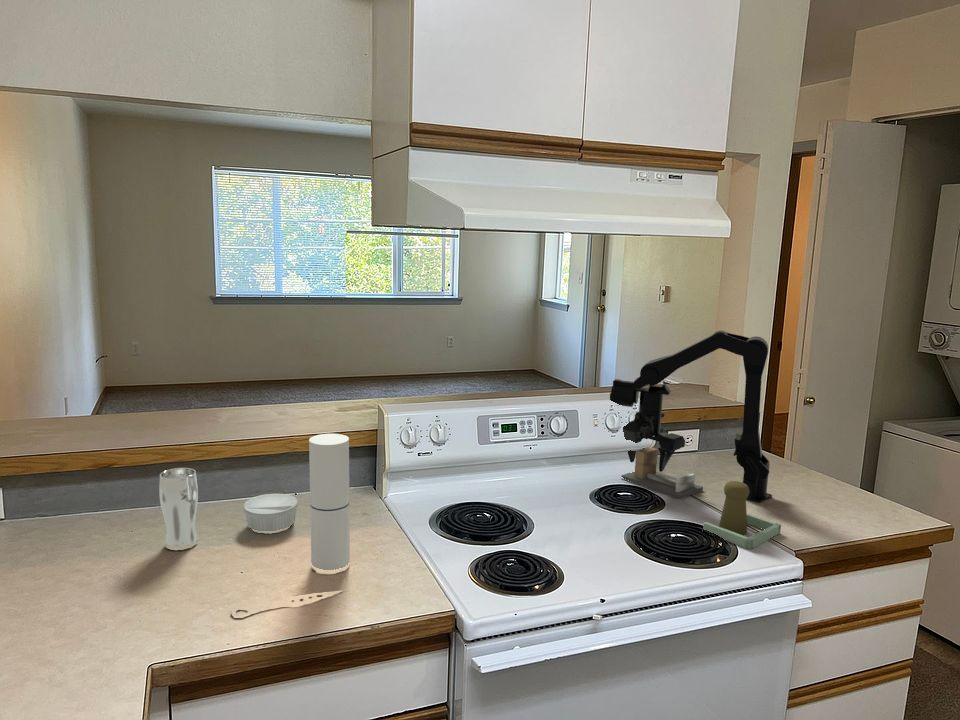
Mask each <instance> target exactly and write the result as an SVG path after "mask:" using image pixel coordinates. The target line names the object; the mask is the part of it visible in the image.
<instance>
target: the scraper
mask: <svg viewBox="0 0 960 720" xmlns="http://www.w3.org/2000/svg"><path fill="white" fill-rule="evenodd" d="M658 452H659V450H658V448H654V447H652V446H648V447H646V448H645V447H644V448H642V449H638V450H636V456H635V460H634V463H635V465H634V471H635V475H634V477H637V478H640V479H645V478H650V479H653V480H656V481H659V482H662V483H665V484H668V485H671V486H674V487H676V489H675V491H676V492H680V491H683V490H685V489H688V488H691V487H693V486H694V484H695V477H696V476H695V475H696V474H695V473H689V474H687V475H683V476H681V477H678V478H677V479H676V481H675V480H672V479H669V478H666V477H663V476H660V475H657V474H656V472H657V464H658Z"/></svg>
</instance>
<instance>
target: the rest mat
mask: <svg viewBox="0 0 960 720" xmlns="http://www.w3.org/2000/svg"><path fill="white" fill-rule="evenodd" d="M631 472H632V473H630V472H628V473H625V474H621V477H623V478H624V479H626V480H629V481H631V482H630V483H632V482H633V483H632V484H635V483H636V484H635V485H637V484H638V486H640V485H642V486H641V487H643V488H646V487H647V488H646V489H649V488H650V490H651V491H655V492H658V493H661V494H663V495H666V496H668V497H669V496H670V497H673V498H675V499H677V500H682V499H685V498H688V497H690V496H693V495H695V494H698V493H701V492H702V490H704V487H703V486H702V485H699V484H695V483H694V486H693V487H691V488H688V489H685V490H683V491H680V492H676V491H675V489H676V487H674V486H671V485H668V484H665V483H662V482H659V481H656V480H653V479H650V478H645V479H640V478H637V477H634V475H635V472H633V471H631ZM656 474H657V475H660V476H663V477H666V478H669V479H672V480H675V481H676V479H678V478H677V477H674V476H671V475H668V474H664V473H662V472H660V471H656ZM626 480H625V481H626ZM629 481H628V482H629ZM697 492H698V493H697Z"/></svg>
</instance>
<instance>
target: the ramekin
mask: <svg viewBox="0 0 960 720" xmlns="http://www.w3.org/2000/svg"><path fill="white" fill-rule="evenodd" d="M298 505H299V503H298V499H297V497H295V496H293V495H291V494H286V493H265V494H260V495H257V496H255V497H252V498H250V499H248V500H247V501H245V502H244V504H243V507H242V509H243V512H244V514H245V518H246V523H247V527H248V526H249V527H250V528H251V529H254V530H257V531H276V530H280V529H284V528H287V527H289V526H291V525H292V524H293V523H294V524H295V521H296V517H297V508H298ZM294 524H293V525H294ZM293 525H292V526H293ZM249 527H248V528H249ZM250 528H249V529H250ZM251 529H250V530H251Z"/></svg>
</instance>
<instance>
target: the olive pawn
mask: <svg viewBox="0 0 960 720" xmlns="http://www.w3.org/2000/svg"><path fill="white" fill-rule="evenodd" d="M723 491H724V496H725V499H724V502H723V503H724V504H723V506H722V511H721V515H720V519H719V523H718V527H721V528H724V529H727V530H729V531H732V532H735V533H738V534H740V535H743V536H746V535H747V534H748V524H747V515H746V513H747V499H748V498H747V497H748V496H749V487H748V486H747V485H746V484H745V483H743V481H739V480H738V481H737V480H731V481H727V482H726V483H725V484H724V486H723Z"/></svg>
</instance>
